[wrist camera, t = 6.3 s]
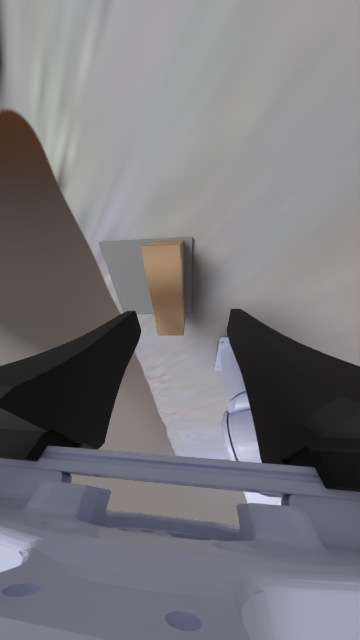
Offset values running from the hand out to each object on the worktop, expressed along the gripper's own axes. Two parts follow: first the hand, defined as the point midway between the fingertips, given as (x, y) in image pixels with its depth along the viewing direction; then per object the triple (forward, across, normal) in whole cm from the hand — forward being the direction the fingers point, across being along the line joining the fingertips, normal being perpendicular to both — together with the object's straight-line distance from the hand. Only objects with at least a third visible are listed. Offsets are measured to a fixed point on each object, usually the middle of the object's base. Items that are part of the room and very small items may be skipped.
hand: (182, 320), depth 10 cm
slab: (+9, +2, 0) cm, 9 cm away
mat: (+9, +5, 0) cm, 10 cm away
